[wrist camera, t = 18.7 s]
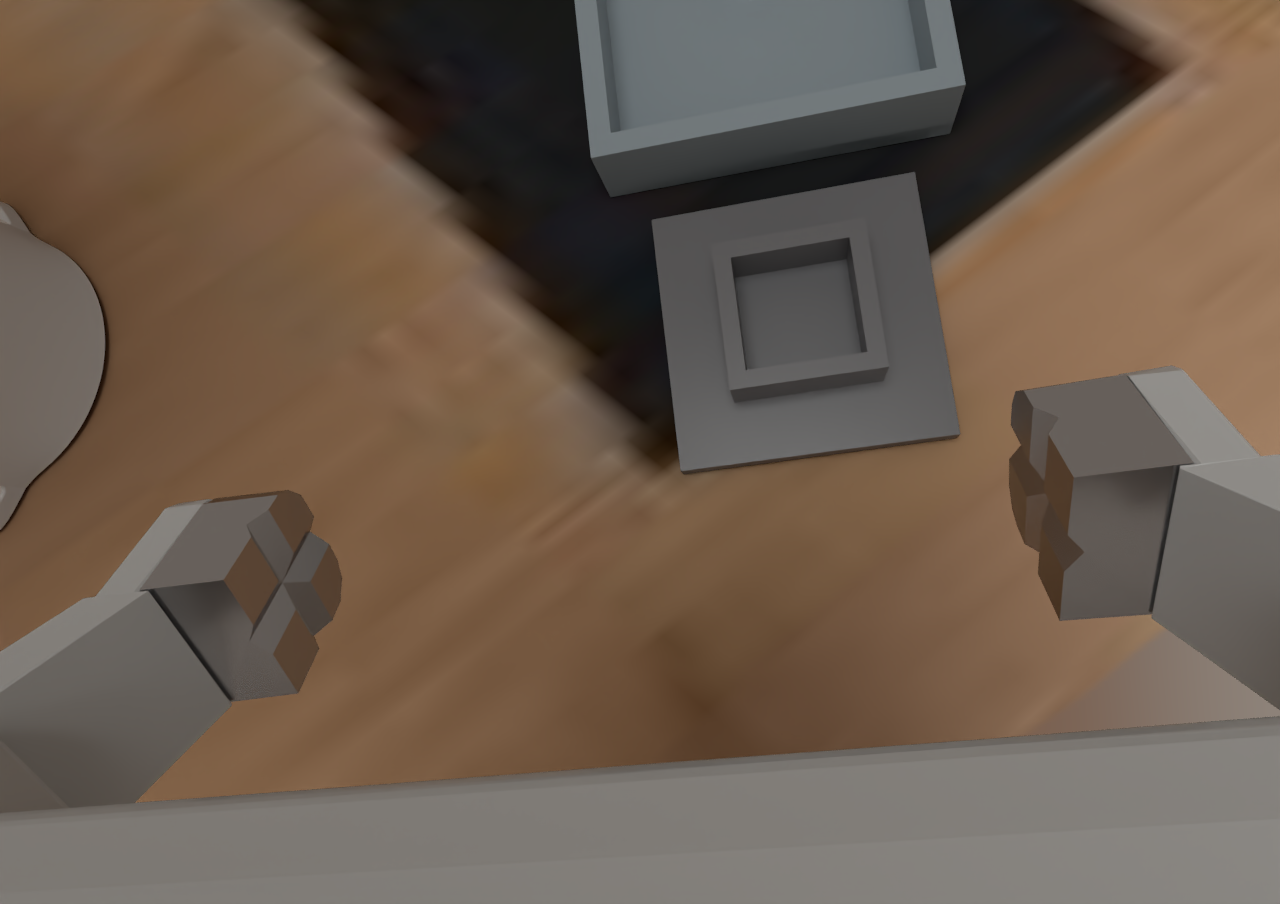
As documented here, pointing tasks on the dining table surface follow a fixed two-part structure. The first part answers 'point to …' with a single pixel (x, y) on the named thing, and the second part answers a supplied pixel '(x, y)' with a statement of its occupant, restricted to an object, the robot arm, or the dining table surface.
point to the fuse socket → (803, 326)
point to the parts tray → (759, 83)
